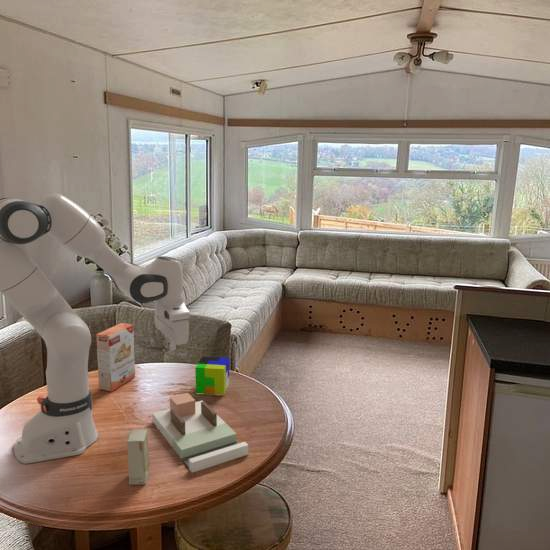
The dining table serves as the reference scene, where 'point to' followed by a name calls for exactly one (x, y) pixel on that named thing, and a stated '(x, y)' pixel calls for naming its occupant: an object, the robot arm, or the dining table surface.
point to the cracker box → (115, 356)
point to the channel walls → (205, 411)
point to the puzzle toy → (212, 375)
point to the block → (183, 404)
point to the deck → (200, 439)
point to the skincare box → (138, 457)
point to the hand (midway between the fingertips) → (171, 348)
